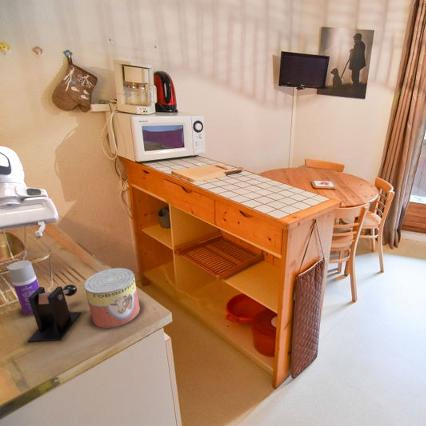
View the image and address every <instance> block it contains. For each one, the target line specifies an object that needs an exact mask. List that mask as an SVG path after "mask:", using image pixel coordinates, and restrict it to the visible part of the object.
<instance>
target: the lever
mask: <svg viewBox="0 0 426 426" xmlns="http://www.w3.org/2000/svg"><path fill="white" fill-rule="evenodd" d="M62 289H63V292H64V296H65V297H72V296H74V295H75V294H77V291H78V287H77V286H76V285H75V284H71V283H70V284H66V285H65V286H64V287H62ZM52 292H53V291H45V293H42V294H39V303H38V304H49V302H48V298H47V297H48V296H49V295H50V294H51V293H52Z"/></svg>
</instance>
